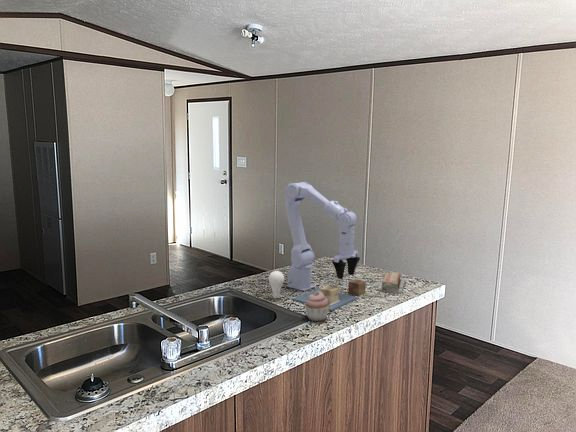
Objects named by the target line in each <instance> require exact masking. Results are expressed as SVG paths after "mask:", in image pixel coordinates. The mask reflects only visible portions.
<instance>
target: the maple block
mask: <svg viewBox="0 0 576 432" xmlns="http://www.w3.org/2000/svg"><path fill="white" fill-rule="evenodd" d="M319 288H320V292H321V293H323V294H324V296H325V297H326V298H327V299H328V303H329V304H332V303H334V302H337V301H338V295H339V293H340V291H339V290H340V289H339V287H335V286H332V285H326V286H323V287H319Z"/></svg>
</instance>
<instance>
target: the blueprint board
mask: <svg viewBox="0 0 576 432" xmlns="http://www.w3.org/2000/svg"><path fill="white" fill-rule="evenodd" d="M320 288H321V287H319V288H316V289H314V290H311V291H308V292H306V293H304V294H300V295H299V296H295V297H293V300H292V301H295V302H299V303H301V304H302V303H303V304H305V303H306V301H307V299H308V297H309V296H310V295H311V294H314V293H315V292H316V291H319V292H320ZM358 297H359V296H358ZM358 297H357V296H355V295H351V294H345V293H341V292H339V295H338V301H337V302H334V303H332V304H330V306H331V307H330V308H329V310H328V312H332V311H335V310H337V309H340V308H341V307H344V306H345V305H348V304H349V303H352V302H354V301H356V300H358Z"/></svg>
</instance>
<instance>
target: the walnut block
mask: <svg viewBox="0 0 576 432" xmlns="http://www.w3.org/2000/svg"><path fill="white" fill-rule="evenodd" d="M366 284H367V281H365V280H362V279H358V278H354V279H351V280H349V281H348V290H347V294H348V295H352V296H356V297H357V296H358V297H359V296H362V295H364V294H366V286H367V285H366Z"/></svg>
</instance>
